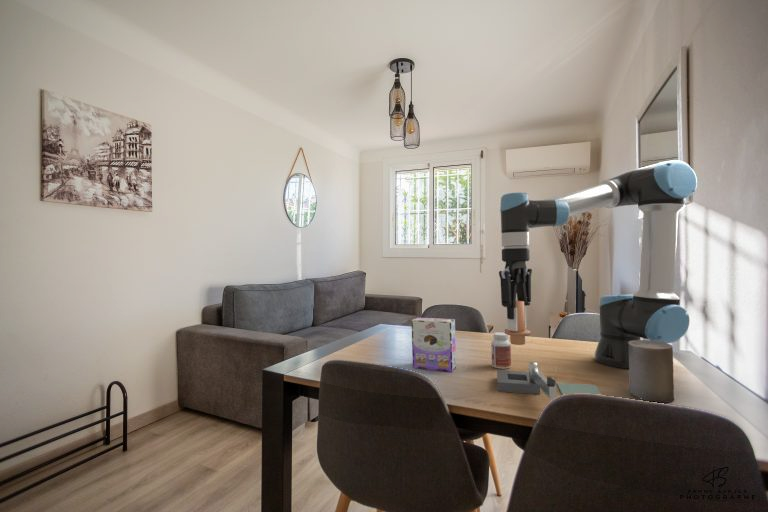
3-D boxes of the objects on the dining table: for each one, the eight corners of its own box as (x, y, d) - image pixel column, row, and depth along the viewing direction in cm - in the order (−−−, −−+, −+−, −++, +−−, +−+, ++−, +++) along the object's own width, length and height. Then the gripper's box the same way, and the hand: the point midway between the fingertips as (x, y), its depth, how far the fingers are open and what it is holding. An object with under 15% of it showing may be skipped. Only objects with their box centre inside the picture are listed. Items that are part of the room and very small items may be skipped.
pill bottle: (515, 367, 126) (514, 333, 126) (502, 370, 123) (502, 336, 123) (500, 362, 131) (499, 330, 131) (487, 366, 128) (487, 333, 128)
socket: (535, 380, 113) (535, 372, 113) (540, 394, 102) (540, 385, 102) (497, 378, 116) (497, 369, 116) (497, 391, 105) (497, 382, 105)
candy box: (456, 367, 127) (455, 318, 127) (452, 372, 122) (451, 321, 121) (417, 363, 133) (416, 316, 133) (411, 368, 127) (410, 319, 127)
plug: (529, 340, 111) (528, 299, 111) (531, 346, 104) (530, 303, 104) (504, 339, 113) (503, 299, 113) (505, 345, 106) (504, 303, 106)
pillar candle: (680, 396, 99) (678, 339, 99) (665, 406, 93) (664, 345, 93) (638, 386, 107) (636, 333, 107) (622, 394, 101) (621, 338, 101)
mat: (595, 386, 107) (595, 385, 107) (605, 400, 97) (605, 398, 97) (556, 383, 110) (556, 382, 110) (562, 396, 100) (562, 395, 100)
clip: (528, 380, 105) (528, 359, 105) (536, 380, 105) (536, 359, 105) (547, 403, 89) (547, 379, 89) (557, 403, 89) (557, 379, 89)
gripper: (519, 247, 117) (521, 323, 117) (486, 248, 106) (488, 331, 106) (543, 246, 111) (544, 326, 111) (510, 247, 100) (512, 336, 101)
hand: (517, 328), depth 109 cm, fingers closed on plug, 4 cm apart
